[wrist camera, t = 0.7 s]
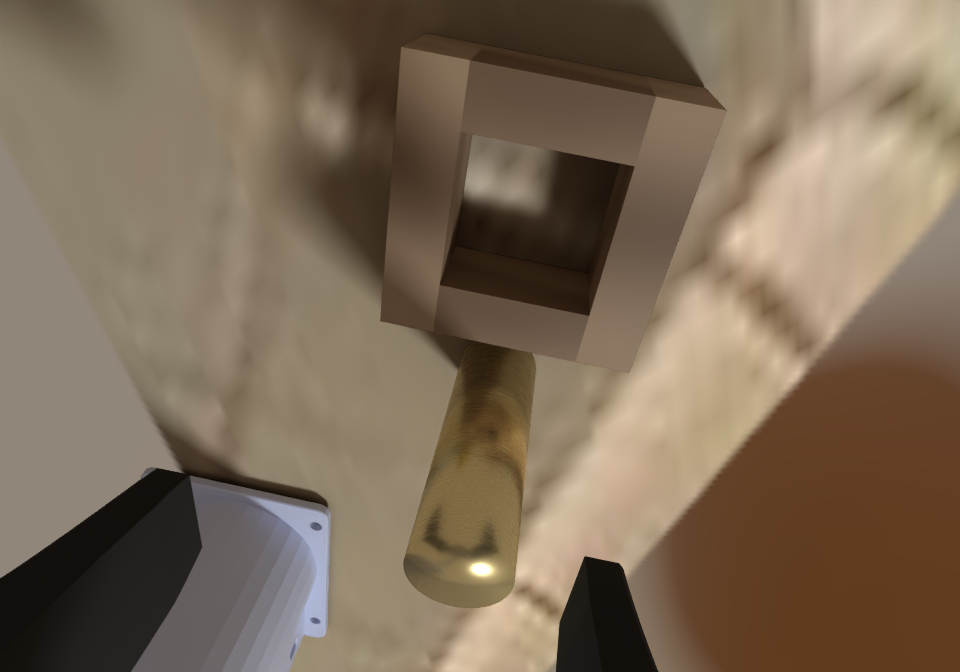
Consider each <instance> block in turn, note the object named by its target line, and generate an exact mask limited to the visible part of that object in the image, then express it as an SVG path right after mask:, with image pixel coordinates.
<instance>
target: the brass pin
mask: <svg viewBox="0 0 960 672" xmlns="http://www.w3.org/2000/svg"><path fill="white" fill-rule="evenodd" d="M535 374H536V363H535V359H534V357H533V354H532V353H530V352H525V351H521V350H516V349H511V348H506V347H502V346H497V345H492V344H487V343H482V342H478V341H473V342H472V343H470V344H469V345H468V347H467V348H466V349H465V351H464V353H463V356H462V359H461V363H460V366H459V370H458V373H457V377H456V380H455V384H454V387H453V391H452V394H451V398H450V401H449V405H448V408H447V412H446V415H445V419H444V422H443V425H442V429H441V432H440V436H439V439H438V443H437V446H436V450H435V453H434V457H433V460H432V464H431V467H430V471H429V474H428V478H427V481H426V485H425V488H424V492H423V495H422V499H421V502H420V506H419V509H418V513H417V516H416V520H415V523H414V527H413V530H412V534H411V537H410V541H409V544H408V548H407V551H406V555H405V558H404V571H405V574H406V576H407V578H408V580H409V581H410V583H411V584H412V585H413V586H414V587H415V588H416V589H417V590H418V591H419V592H421V593H422V594H424V595H425V596H427V597H429V598H431V599H433V600H435V601H437V602H440V603H443V604H446V605H449V606H454V607H461V608H480V607H486V606H490V605H493V604H496V603H498V602H500V601H501V600H503V599H504V598H506V597H507V596H508V595H509V594H510V592H511V591H512V589H513V586H514V582H515V573H516V563H517V553H518V543H519V533H520V523H521V513H522V503H523V493H524V483H525V474H526V464H527V454H528V444H529V434H530V424H531V414H532V404H533V394H534V384H535Z"/></svg>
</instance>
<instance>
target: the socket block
mask: <svg viewBox="0 0 960 672" xmlns="http://www.w3.org/2000/svg"><path fill="white" fill-rule="evenodd" d="M726 112H727V110H726V109H725V108H724V107H723V106H722V105H721V104H720V103H719V102H718V101H717V99H716V98H715V97H714V96H713V95H712V94H711V93H710V92H709V91H708V90H707V89H706V88H704V87H698V86H693V85H688V84H683V83H678V82H673V81H668V80H662V79H657V78H652V77H647V76H642V75H637V74H632V73H626V72H621V71H616V70H611V69H606V68H601V67H596V66H590V65H585V64H580V63H575V62H570V61H565V60H560V59H555V58H549V57H544V56H539V55H534V54H529V53H524V52H519V51H513V50H508V49H503V48H498V47H493V46H488V45H483V44H477V43H472V42H467V41H462V40H457V39H452V38H447V37H441V36H436V35H431V34H424V35H422V36H420V37H418V38H417V39H415V40H413V41H411V42H409V43H407V44H405V45H404V46H402V47H401V55H400V68H399V81H398V94H397V107H396V121H395V134H394V147H393V160H392V173H391V186H390V199H389V212H388V226H387V239H386V252H385V265H384V278H383V291H382V304H381V318H380V321H382V322H387V323H392V324H396V325H401V326H406V327H411V328H416V329H420V330H425V331H430V332H435V333H439V334H444V335H449V336H454V337H459V338H463V339H468V340H473V341H478V342H482V343H487V344H492V345H497V346H502V347H506V348H511V349H516V350H521V351H525V352H530V353H535V354H540V355H545V356H549V357H554V358H559V359H564V360H568V361H573V362H578V363H583V364H588V365H592V366H597V367H602V368H607V369H611V370H616V371H621V372H626V373H629V372H630V370H631V367H632V364H633V362H634V359H635V356H636V354H637V351H638V348H639V346H640V343H641V340H642V338H643V335H644V332H645V329H646V327H647V324H648V321H649V319H650V316H651V313H652V311H653V308H654V305H655V303H656V300H657V297H658V294H659V292H660V289H661V286H662V284H663V281H664V278H665V276H666V273H667V270H668V268H669V265H670V262H671V259H672V257H673V254H674V251H675V249H676V246H677V243H678V241H679V238H680V235H681V233H682V230H683V227H684V225H685V222H686V219H687V216H688V214H689V211H690V208H691V206H692V203H693V200H694V198H695V195H696V192H697V190H698V187H699V184H700V181H701V179H702V176H703V173H704V171H705V168H706V165H707V163H708V160H709V157H710V155H711V152H712V149H713V146H714V144H715V141H716V138H717V136H718V133H719V130H720V128H721V125H722V122H723V120H724V117H725V114H726ZM472 134H475V135H480V136H485V137H490V138H495V139H500V140H505V141H510V142H515V143H520V144H525V145H530V146H535V147H540V148H545V149H550V150H555V151H560V152H565V153H570V154H575V155H581V156H586V157H591V158H596V159H601V160H606V161H611V162H616V163H620V164H619V168H618V171H617V175H616V178H615V182H614V185H613V189H612V192H611V196H610V199H609V202H608V206H607V209H606V213H605V216H604V220H603V223H602V227H601V230H600V234H599V237H598V240H597V244H596V247H595V251H594V254H593V258H592V261H591V265H590V268H589V271H588V273H584V272H579V271H575V270H570V269H565V268H560V267H555V266H550V265H545V264H540V263H536V262H531V261H526V260H521V259H516V258H511V257H506V256H501V255H496V254H492V253H487V252H482V251H477V250H472V249H467V248H462V247H457V246H456V241H457V234H458V227H459V220H460V213H461V207H462V200H463V193H464V186H465V179H466V173H467V166H468V159H469V152H470V145H471V139H472Z"/></svg>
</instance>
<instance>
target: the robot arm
mask: <svg viewBox="0 0 960 672" xmlns="http://www.w3.org/2000/svg"><path fill="white" fill-rule="evenodd" d="M330 519H331V514H330V511H329V510H328V508H327V507H325V506H324V505H321V504H318V503H313V502H309V501H304V500H300V499H295V498H291V497H286V496H281V495H277V494H272V493H268V492H263V491H259V490H254V489H249V488H245V487H240V486H236V485H231V484H227V483H222V482H217V481H213V480H208V479H204V478H199V477H195V476H190V475H188V474H184V473H179V472H174V471H169V470H164V469H159V468H148V469H146V471H145V472H144V473H143V474H142V476H141V480H139V481H138V482H136V483H135V484H134V485H132V486H131V487H130V488H128V489H127V490H126V491H124V492H123V493H121V494H120V495H119V496H117V497H116V498H114V499H113V500H112V501H110V502H109V503H108V504H106V505H105V506H104V507H102V508H101V509H99V510H98V511H97V512H95V513H94V514H92V515H91V516H90V517H88V518H87V519H86V520H84V521H83V522H81V523H80V524H79V525H77V526H76V527H74V528H73V529H72V530H70V531H69V532H67V533H66V534H64V535H63V536H62V537H60V538H59V539H57V540H56V541H55V542H53V543H52V544H50V545H49V546H47V547H46V548H44V549H43V550H42V551H40V552H39V553H38V554H36V555H34V556H33V557H32V558H30V559H29V560H27V561H26V562H25V563H23V564H21V565H20V566H18V567H17V568H16V569H14V570H12V571H11V572H10V573H8V574H6V575H5V576H3V577H2V578H0V672H289V670H290V668H291V665H292V663H293V660H294V658H295V655H296V653H297V650H298V648H299V645H300V643H301V640H302V638H303V635H308V636H312V637H318V638H319V637H323V636H324V635H325V633H326V630H327V628H328V592H329V556H330ZM556 672H658V670H657V667H656V665H655V662H654V659H653V657H652V654H651V652H650V649H649V646H648V643H647V641H646V638H645V635H644V632H643V629H642V627H641V624H640V621H639V618H638V615H637V612H636V609H635V606H634V603H633V600H632V596H631V593H630V590H629V587H628V583H627V580H626V577H625V573H624V569H623V568H622V566H621V565H620V564H619V563H615V562H610V561H605V560H600V559H596V558H591V557H586V556H585V557H584V559H583V562H582V565H581V567H580V570H579V573H578V575H577V578H576V581H575V583H574V586H573V589H572V591H571V594H570V596H569V599H568V602H567V604H566V607H565V610H564V612H563V615H562V618H561V620H560V625H559V637H558V650H557V664H556Z"/></svg>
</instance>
